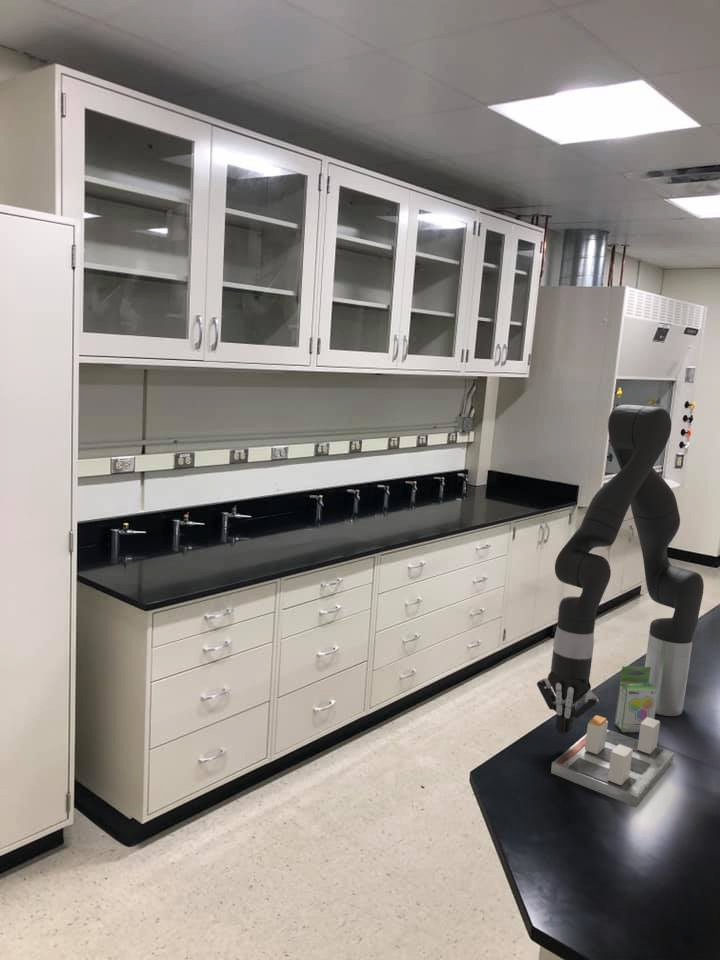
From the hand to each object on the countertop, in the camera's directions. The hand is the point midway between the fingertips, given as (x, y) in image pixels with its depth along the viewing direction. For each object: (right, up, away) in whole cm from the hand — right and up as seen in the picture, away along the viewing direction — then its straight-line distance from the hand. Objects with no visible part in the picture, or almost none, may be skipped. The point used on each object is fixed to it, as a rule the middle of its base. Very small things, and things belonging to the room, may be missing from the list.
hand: (563, 732), depth 154 cm
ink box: (+18, -3, +11) cm, 22 cm away
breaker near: (+6, -4, -15) cm, 16 cm away
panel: (+8, -5, -6) cm, 11 cm away
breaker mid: (+5, -2, -4) cm, 7 cm away
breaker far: (+16, -3, -2) cm, 16 cm away
